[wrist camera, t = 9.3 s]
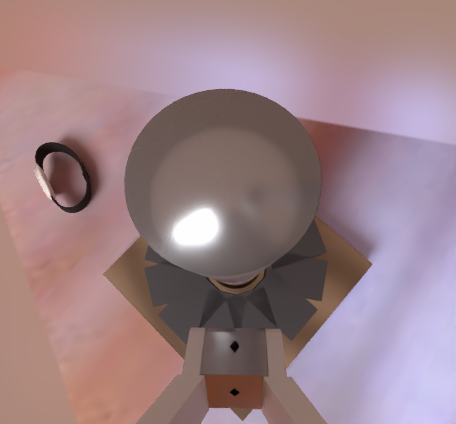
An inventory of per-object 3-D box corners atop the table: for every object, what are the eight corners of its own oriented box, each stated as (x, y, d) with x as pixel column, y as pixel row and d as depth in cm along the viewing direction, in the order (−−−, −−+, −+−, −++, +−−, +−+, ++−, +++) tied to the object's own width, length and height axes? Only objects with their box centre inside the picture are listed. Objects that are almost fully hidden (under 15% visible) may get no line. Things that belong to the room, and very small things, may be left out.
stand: (231, 153, 33) (231, 145, 31) (364, 265, 30) (372, 264, 28) (111, 275, 30) (103, 274, 28) (242, 411, 27) (242, 421, 25)
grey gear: (231, 155, 23) (230, 143, 21) (351, 258, 21) (363, 255, 19) (121, 267, 21) (109, 265, 20) (240, 390, 19) (240, 401, 17)
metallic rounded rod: (235, 242, 29) (218, 42, 5) (263, 268, 28) (381, 168, 5) (209, 270, 28) (66, 182, 5) (237, 297, 28) (227, 344, 4)
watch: (36, 162, 34) (13, 147, 30) (77, 142, 34) (58, 125, 31) (63, 223, 32) (42, 215, 28) (105, 201, 32) (89, 190, 29)
